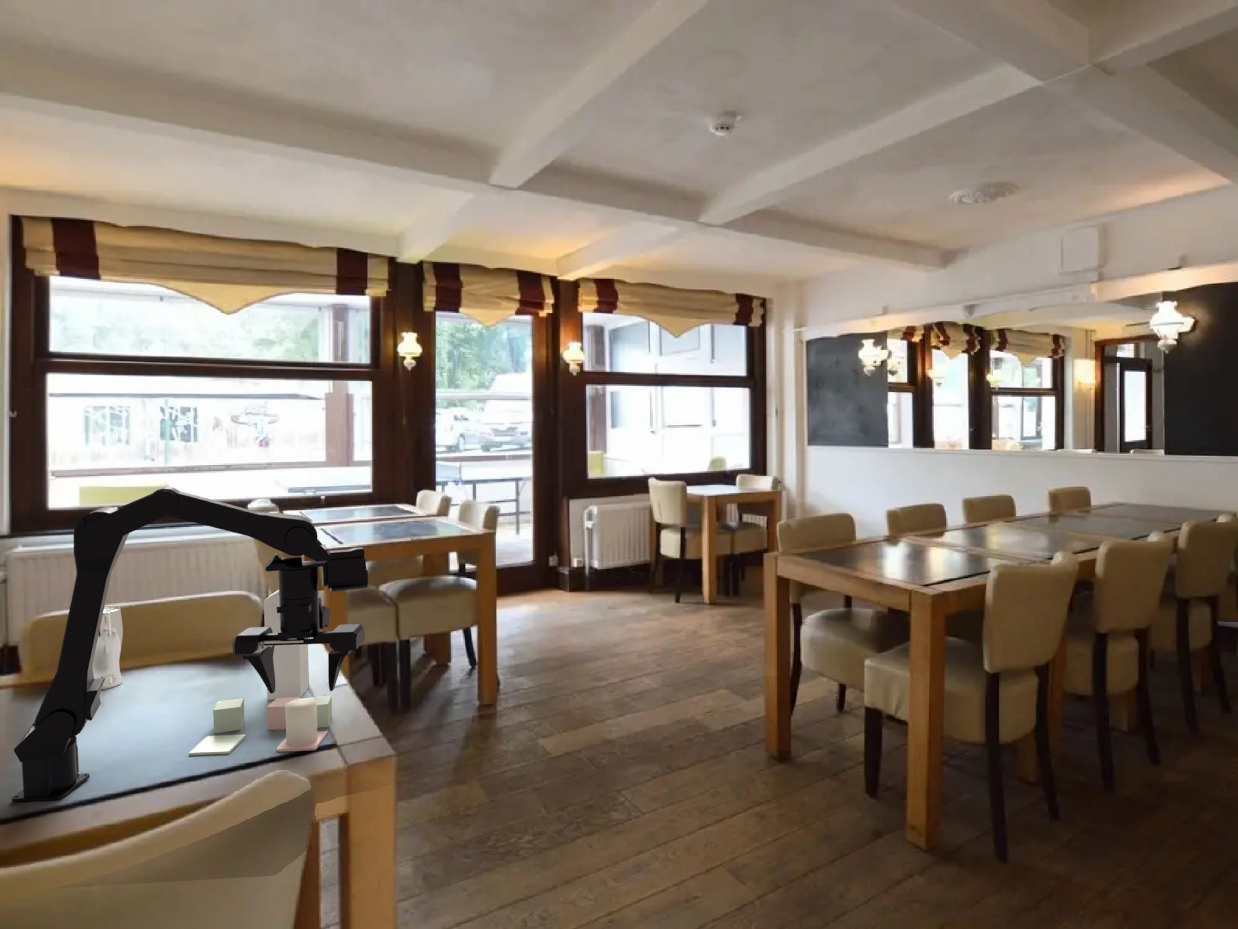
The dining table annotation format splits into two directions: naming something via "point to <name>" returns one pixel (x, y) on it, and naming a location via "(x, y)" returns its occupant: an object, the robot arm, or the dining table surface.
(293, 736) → the cream rounded cylinder
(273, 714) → the cube rose
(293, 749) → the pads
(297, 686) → the milk
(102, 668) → the beer glass
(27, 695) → the dining table surface
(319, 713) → the sage cube
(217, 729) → the sage cube
